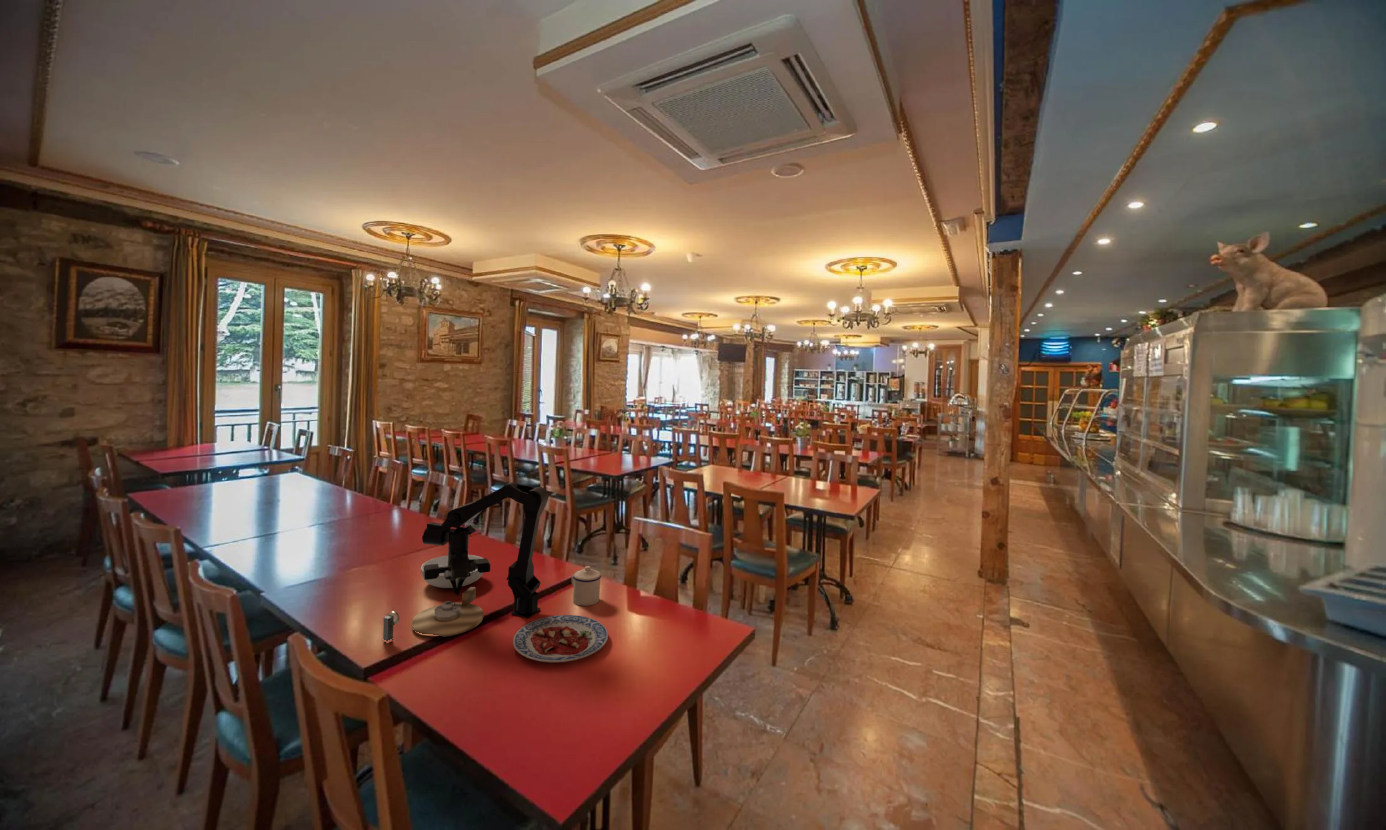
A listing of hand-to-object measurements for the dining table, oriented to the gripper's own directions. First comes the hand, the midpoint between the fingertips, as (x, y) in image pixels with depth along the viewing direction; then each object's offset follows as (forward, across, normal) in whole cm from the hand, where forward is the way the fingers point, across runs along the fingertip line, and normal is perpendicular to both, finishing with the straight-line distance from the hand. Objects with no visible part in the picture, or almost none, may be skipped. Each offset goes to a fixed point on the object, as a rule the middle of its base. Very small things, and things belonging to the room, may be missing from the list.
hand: (456, 594), depth 158 cm
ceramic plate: (+4, +23, -35) cm, 42 cm away
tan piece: (+4, -3, -10) cm, 11 cm away
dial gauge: (+4, -18, -15) cm, 24 cm away
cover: (+2, -3, -10) cm, 11 cm away
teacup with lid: (+4, +38, -11) cm, 40 cm away
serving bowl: (+4, +2, +20) cm, 20 cm away
